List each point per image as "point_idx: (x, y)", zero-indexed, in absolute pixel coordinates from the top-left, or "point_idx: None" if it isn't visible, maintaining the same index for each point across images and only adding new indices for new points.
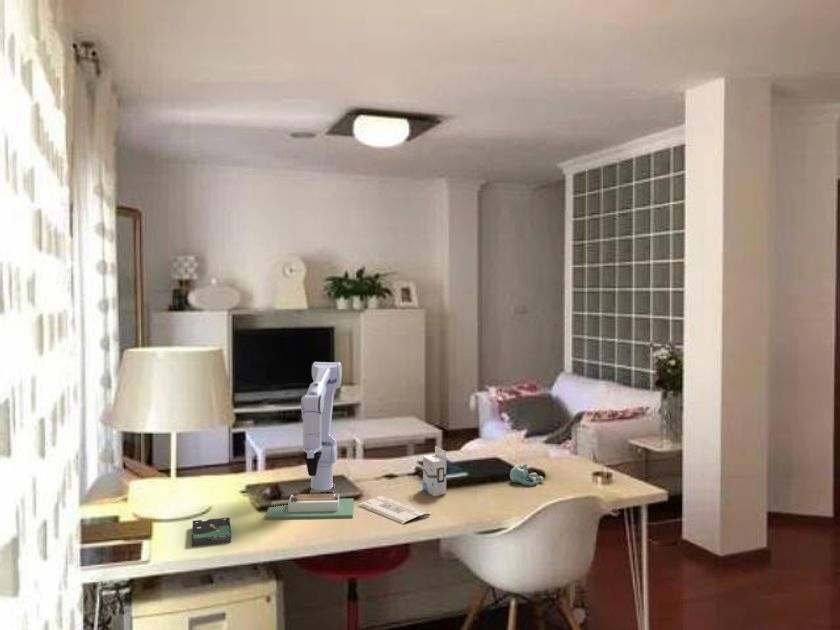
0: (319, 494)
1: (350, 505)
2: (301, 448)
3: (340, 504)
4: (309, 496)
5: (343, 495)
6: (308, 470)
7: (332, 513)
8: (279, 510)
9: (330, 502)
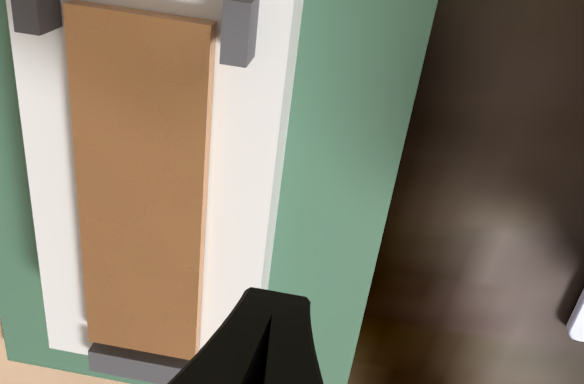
0: (186, 257)
1: None
2: None
3: None
4: (128, 167)
5: (486, 379)
6: (213, 338)
7: (28, 264)
8: None
9: (46, 300)
